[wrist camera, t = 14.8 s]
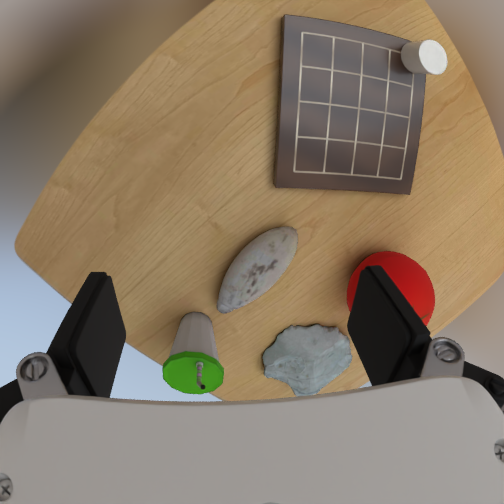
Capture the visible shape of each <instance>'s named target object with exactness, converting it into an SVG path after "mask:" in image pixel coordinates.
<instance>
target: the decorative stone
mask: <svg viewBox="0 0 504 504" xmlns="http://www.w3.org/2000/svg"><path fill="white" fill-rule="evenodd" d="M297 244H298V234H297V230H296V229H294V228H293V227H279V228H275V229H271V230H269V231H267V232H265V233H263V234H261V235H260V236H258V237H257V238H255V239H254V240H252V241H251V242H250V243H249V244H248V245H247V246H246V247H245V248H244V249H243V250H242V251H241V252H240V253H239V254H238V255H237V257H236V258H235V259H234V261H233V262H232V264H231V265H230V267H229V269H228V271H227V273H226V275H225V277H224V279H223V282H222V286H221V288H220V292H219V299H218V301H217V310H218V311H219V312H221V313H228V312H231V311H233V310H234V309H238V308H240V307H243V306H244V305H246V304H248V303H249V302H251V301H253V300H255V299H257V298H258V297H260V296H261V295H262V294H264V293H265V292H266V291H267V290H268V289H269V288H270V287H272V285H273V284H274V283H275V282H276V281H277V280H278V279H279V278H280V276H281V275H282V274H283V273H284V271H285V270H286V269H287V267H288V265H289V264H290V262H291V261H292V259H293V257H294V255H295V252H296V249H297Z"/></svg>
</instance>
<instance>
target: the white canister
mask: <svg viewBox="0 0 504 504" xmlns="http://www.w3.org/2000/svg"><path fill="white" fill-rule="evenodd" d="M401 59H402V62H403V64H404V66H405V67H406V68H407V69H408V70H409V71H410V72H412V73H414V74H430V75H439V74H441V73H443V72H444V71H445V69H446V67H447V55H446V53H445V50H444V49H443V47H442V46H441V45H440V44H439V43H438V42H436V41H434V40H421V41H413V42H408V43H406V44H405V45H404V46H403V48H402V50H401Z"/></svg>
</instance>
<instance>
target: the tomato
mask: <svg viewBox="0 0 504 504" xmlns="http://www.w3.org/2000/svg"><path fill="white" fill-rule="evenodd" d="M372 265H380V266H382V268H383V269H384V270H385V271H386V273H387V274H388V275H389V277H390V278H391V279H392V280H393V282H394V283H395V284H396V286H397V287H398V288H399V290H400V291H401V292H402V294H403V295H404V296H405V298H406V299H407V301H408V302H409V303H410V305H411V306H412V307H413V309H414V310H415V312H416V313H417V314H418V316H419V317H420V319H421V320H422V321H423V323H424V324H425V326H427V324H428V322H429V320H430V318H431V316H432V313H433V310H434V306H435V295H434V289H433V286H432V283H431V280H430V278H429V276H428V274H427V272H426V271H425V270H424V269H423V268H422V267H421V266H420V265H419V264H418V263H417V262H416V261H414V260H412V259H411V258H409V257H407V256H406V255H403V254H400V253H397V252H391V251H384V252H377V253H374V254H372V255H370V256H368V257H367V258H366V259H365V260H363V261H362V262H361V263H360V265H359V266H358V267H357V268H356V269H355V271H354V272H353V274H352V276H351V278H350V281H349V284H348V288H347V304H348V307H349V311H350V312H351V308H352V304H353V300H354V296H355V292H356V288H357V284H358V280H359V275H360V272H361V270H364V268H365V267H366V266H372Z"/></svg>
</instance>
